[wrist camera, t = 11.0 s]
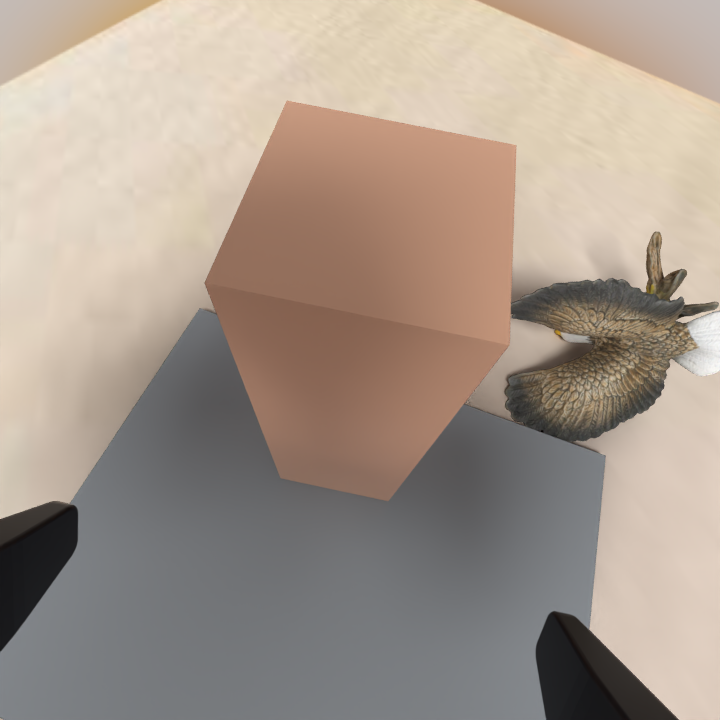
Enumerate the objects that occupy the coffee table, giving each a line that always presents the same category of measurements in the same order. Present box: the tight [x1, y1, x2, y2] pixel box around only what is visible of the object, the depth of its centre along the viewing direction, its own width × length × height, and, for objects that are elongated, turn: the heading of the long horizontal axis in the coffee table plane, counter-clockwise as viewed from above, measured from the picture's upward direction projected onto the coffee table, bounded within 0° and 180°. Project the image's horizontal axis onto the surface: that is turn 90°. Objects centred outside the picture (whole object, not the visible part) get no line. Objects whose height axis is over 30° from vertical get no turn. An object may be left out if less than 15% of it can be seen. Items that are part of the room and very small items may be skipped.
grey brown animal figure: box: [505, 232, 720, 442], centre depth 19 cm, size 8×7×9 cm
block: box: [205, 101, 516, 501], centre depth 13 cm, size 4×4×13 cm
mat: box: [0, 309, 606, 720], centre depth 17 cm, size 16×20×1 cm
